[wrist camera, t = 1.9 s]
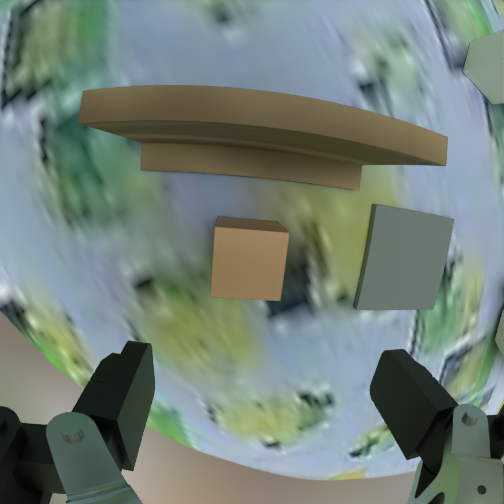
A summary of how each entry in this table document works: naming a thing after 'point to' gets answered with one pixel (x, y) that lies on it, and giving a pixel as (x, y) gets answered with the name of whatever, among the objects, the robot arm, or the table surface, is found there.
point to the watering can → (500, 334)
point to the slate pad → (403, 259)
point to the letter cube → (248, 259)
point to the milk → (487, 66)
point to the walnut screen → (257, 133)
